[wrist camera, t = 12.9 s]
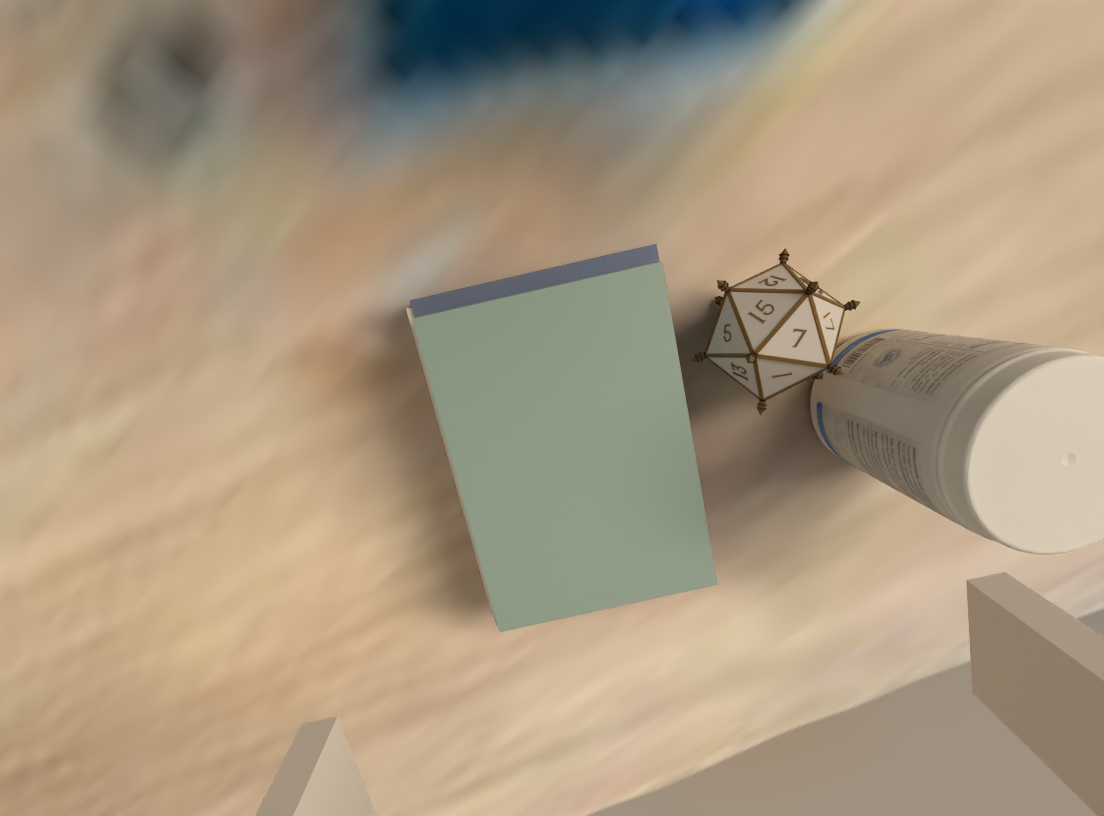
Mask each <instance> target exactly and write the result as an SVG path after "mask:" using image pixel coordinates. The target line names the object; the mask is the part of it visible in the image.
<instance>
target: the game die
mask: <svg viewBox="0 0 1104 816" xmlns="http://www.w3.org/2000/svg"><path fill="white" fill-rule="evenodd" d="M779 255H780V258H779V260H780V264H778V265H776V266H774V267H772V268H770V269H768V270H766V271H764V272H761V273H759V274H757V275H755V276H753V277H751V278H749V279H747V280H745V281H743V282H740V283H738V284H736V285H734V286H732V287H729V286H728V283H726V281H719V280H717V283H718V288H719V289H721V291H724V292H725V294H724V297H721V296H718V297H715V301H716V304H719V306H720V305H721V306H720V309H719V312H718V315H717V317H716V320H715V323H714V326H713V329H712V332H711V335H710V338H709V341H708V344H707V347H706V350H705V352H704V353H699V354H695V356H694V357H693V358H692V360H691V361H697V362H699V361H701V360H702V361H703V359H704V358H707V359H708V360H710V361H711V362H712V363H714V364H715V365H716V366H717V367H719V368H720V369H721V370H723V371H724V372H725V373H726V374H728V375H729V376H730V377H732V378H733V379H734V380H735V381H737V382H738V383H739V384H740V385H742V386H743V387H744V388H746V389H747V390H748V391H749V392H751V393H752V394H753V395H755V396H756V397H757V398H758V399H760V401H759V403H758V404H757V405H758V407H757V409H758V411H759V414H760V415H761V414H762V413H763V412H764V410H766V409H765V408H766V406H767V405H766V403H765V401H766V400H767V399H769V398H771V397H773V396H775V395H777V394H779V393H781V392H783V391H785V390H787V389H789V388H791V387H793V386H795V385H797V384H799V383H801V382H803V381H805V380H807V379H809V378H811V377H815V379H823V375H824V374H823V373H822V372H823V371H825V370H827V369H829V370H830V372H831V373H833V375H844V374H843V372H842V370H841V366H840V367H839V366H837V364H836V365H834V364H832V362H833V358H834V353H835V349H836V345H837V341H838V337H839V333H840V329H841V325H842V321H843V317H844V313H845V311H846V310H850V311H851V309H856V307H857V306H858V305H859V303H860V302H858V301H854V300H852V301H851V302H847V304H845V305H843V304H841V303H840V302H839V301H837V300H836V299H834V298H833V297H832V296H830V295H829V294H827V293H826V292H825V291H823V290H822V289H820V288H819V286H818V282H811V281H809V280H808V279H807V278H805V277H804V276H802V275H801V274H800V273H798V272H797V271H795V270H794V269H793V268H791V267H790V266H788V265H787V264H786V262H787V261H788V256H789V254H788V252H787V250H786V248H785V249H784V251H783V252H782V253H781V254H779Z"/></svg>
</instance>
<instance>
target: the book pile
mask: <svg viewBox="0 0 1104 816" xmlns="http://www.w3.org/2000/svg"><path fill="white" fill-rule="evenodd" d="M410 303H411V306H412V307H410V308H406V310H407V314H408V318H409V321H410V325H411V328H412V332H413V335H414V339H415V343H416V346H417V350H418V353H419V357H420V360H421V364H422V368H423V371H424V375H425V378H426V382H427V385H428V389H429V393H430V396H431V400H432V403H433V407H434V410H435V414H436V418H437V421H438V425H439V428H440V432H441V435H442V439H443V443H444V446H445V450H446V453H447V457H448V460H449V464H450V468H451V471H452V475H453V478H454V482H455V485H456V489H457V493H458V496H459V500H460V503H461V507H462V510H463V514H464V518H465V521H466V525H467V528H468V532H469V535H470V539H471V542H472V546H473V550H474V553H475V557H476V560H477V564H478V567H479V571H480V575H481V578H482V582H483V585H484V589H485V592H486V596H487V600H488V603H489V607H490V610H491V614H494V618H495V621H496V625H498V629H499V632H503V631H507V630H512V629H516V628H521V627H526V626H530V625H535V624H539V623H544V622H549V621H553V620H558V619H562V618H567V617H571V616H576V615H581V614H585V613H590V612H594V611H599V610H603V609H608V608H613V607H617V606H622V605H626V604H631V603H636V602H640V601H645V600H649V599H654V598H658V597H663V596H668V595H672V594H677V593H681V592H686V591H690V590H695V589H700V588H704V587H709V586H713V585H718V583H717V577H716V571H715V565H714V560H713V554H712V548H711V542H710V536H709V530H708V525H707V519H706V513H705V507H704V501H703V496H702V490H701V484H700V478H699V472H698V467H697V461H696V455H695V449H694V443H693V437H692V432H691V426H690V420H689V414H688V408H687V403H686V397H685V391H684V385H683V379H682V373H681V368H680V362H679V356H678V350H677V344H676V339H675V333H674V327H673V321H672V315H671V310H670V304H669V298H668V292H667V286H666V280H665V275H664V269H663V263H662V262H659V257H658V251H657V246H656V244H654V245H650V246H645V247H641V248H637V249H632V250H628V251H624V252H619V253H615V254H610V255H606V256H602V257H597V258H593V259H589V260H584V261H580V262H576V263H571V264H567V265H563V266H558V267H554V268H550V269H545V270H541V271H537V272H532V273H528V274H523V275H519V276H515V277H510V278H506V279H502V280H497V281H493V282H489V283H484V284H480V285H476V286H471V287H467V288H463V289H458V290H454V291H450V292H445V293H441V294H436V295H432V296H428V297H423V298H419V299H415V300H410Z"/></svg>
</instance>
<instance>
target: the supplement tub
mask: <svg viewBox="0 0 1104 816" xmlns="http://www.w3.org/2000/svg"><path fill="white" fill-rule="evenodd" d="M832 364H834V365H836V364H837V366H839V367H840V366H841V370H842V372H843V374H844V375H833V373H831V372H830V370H829V369H827V370H825V371H823V372H822V373H823V374H824V375H823V379H815V380H814V384H813V387H812V391H811V399H810V409H811V417H812V422H813V426H814V428H815V431H816V433H817V435H818V437H819V439H820V440H821V441H822V443H823V444H824V445H825V446H826V447H827V448H828V449H829V450H830V451H831V452H832V453H833V454H834V455H836V456H837V457H839V458H840V459H842V460H844V461H845V462H847V463H849V464H851V465H852V466H854V467H856V468H858V469H860V470H861V471H863V472H865V473H867V474H869V475H870V476H872V477H874V478H876V479H878V480H879V481H881V482H883V483H885V484H887V485H888V486H890V487H892V488H894V489H895V490H897V491H899V492H901V493H903V494H904V495H906V496H908V497H910V498H912V499H914V500H915V501H917V502H919V503H921V504H922V505H924V506H926V507H928V508H930V509H931V510H933V511H935V512H937V513H939V514H941V515H942V516H944V517H946V518H948V519H950V520H951V521H953V522H955V523H957V524H959V525H961V526H963V527H965V528H966V529H968V530H970V531H972V532H974V533H976V534H978V535H981V536H983V537H985V538H987V539H990V540H993V541H996V542H999V543H1001V544H1003V545H1005V546H1007V547H1009V548H1012V549H1015V550H1018V551H1022V552H1026V553H1033V554H1059V553H1065V552H1070V551H1074V550H1077V549H1081V548H1083V547H1086V546H1089V545H1091V544H1093V543H1096V542H1098V541H1099V540H1101V539H1103V538H1104V356H1099V355H1093V354H1090V353H1087V352H1083V351H1079V350H1074V349H1067V348H1059V347H1051V346H1043V345H1035V344H1026V343H1017V342H1008V341H1000V340H991V339H982V338H973V337H964V336H956V335H945V334H936V333H928V332H919V331H909V330H898V329H879V330H874V331H870V332H866V333H863V334H860V335H858V336H856V337H853V338H852V339H850V340H848V341H846V342H845V343H843V344H842V345H841V346H839V347H838V348H837V349H836V350H835V353H834V358H833V362H832Z"/></svg>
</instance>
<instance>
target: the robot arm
mask: <svg viewBox="0 0 1104 816" xmlns="http://www.w3.org/2000/svg"><path fill="white" fill-rule="evenodd" d="M966 581H967V600H968V618H969V637H970V656H971V675H972V693H973V694H974V695H975V696H976V697H977V698H978V699H979V700H980V701H981V702H982V703H983V704H984V705H985V706H986V707H987V708H988V709H989V710H990V711H991V712H992V713H993V714H995V715H996V716H997V717H998V718H999V719H1000V720H1001V721H1002V722H1003V723H1004V724H1005V725H1006V726H1007V727H1008V728H1009V729H1010V730H1011V731H1012V732H1013V733H1014V734H1015V735H1016V736H1017V737H1018V738H1019V739H1020V740H1021V741H1022V742H1023V743H1024V744H1025V745H1026V746H1027V747H1028V748H1029V749H1030V750H1031V751H1032V752H1033V753H1034V754H1035V755H1036V756H1037V757H1038V758H1039V759H1040V760H1042V761H1043V762H1044V763H1045V765H1046V766H1048V767H1049V768H1050V769H1051V770H1052V771H1053V772H1054V773H1055V774H1056V775H1057V776H1058V777H1059V778H1060V779H1061V780H1062V781H1063V782H1064V783H1065V784H1066V785H1067V786H1068V787H1069V788H1070V789H1071V790H1072V791H1073V792H1074V793H1075V794H1076V795H1077V796H1078V797H1079V798H1080V799H1081V800H1082V801H1083V802H1084V803H1085V804H1086V805H1087V806H1088V807H1089V808H1091V810H1092V811H1093V812H1094V813H1095V814H1096V815H1098V816H1104V637H1103V636H1101V635H1100V634H1098V633H1097V632H1095V631H1094V630H1092V629H1091V628H1089V627H1088V626H1086V625H1085V624H1083V623H1082V622H1080V621H1079V620H1077V619H1075V618H1074V617H1072V616H1071V615H1069V614H1068V613H1066V612H1065V611H1063V610H1062V609H1060V608H1059V607H1057V606H1056V605H1054V604H1053V603H1051V602H1049V601H1048V600H1046V599H1045V598H1043V597H1042V596H1040V595H1039V594H1037V593H1036V592H1034V591H1033V590H1031V589H1030V588H1028V587H1027V586H1025V585H1023V584H1022V583H1020V582H1019V581H1017V580H1016V579H1014V578H1013V577H1011V576H1010V575H1008V574H1007V573H1005V572H1003V573H999V574H994V575H989V576H985V577H980V578H975V579H971V580H966ZM255 816H376V813H375V811H374V808H373V806H372V803H371V800H370V798H369V795H368V793H367V790H366V788H365V785H364V783H363V780H362V778H361V775H360V773H359V770H358V767H357V765H356V762H355V760H354V757H353V755H352V752H351V750H350V747H349V745H348V742H347V740H346V737H345V734H344V732H343V729H342V727H341V724H340V722H339V719H338V717H333V718H328V719H324V720H319V721H314V722H310V723H305V724H302V725H301V727H300V729H299V731H298V733H297V735H296V737H295V739H294V741H293V743H292V745H291V747H290V749H289V751H288V753H287V754H286V756H285V758H284V760H283V762H282V764H281V766H280V768H279V770H278V772H277V774H276V776H275V778H274V780H273V782H272V784H271V786H270V788H269V789H268V791H267V793H266V795H265V797H264V799H263V801H262V803H261V805H260V807H259V809H258V811H257V813H256V815H255Z"/></svg>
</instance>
